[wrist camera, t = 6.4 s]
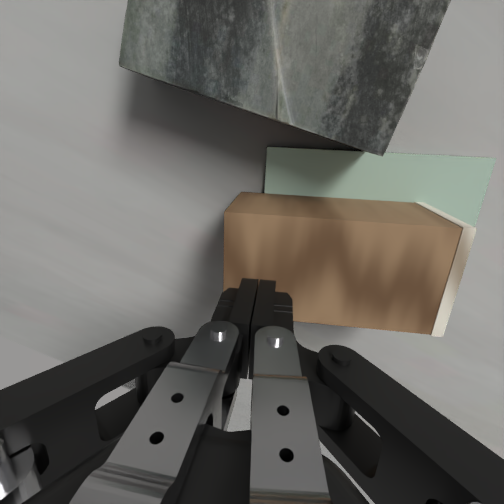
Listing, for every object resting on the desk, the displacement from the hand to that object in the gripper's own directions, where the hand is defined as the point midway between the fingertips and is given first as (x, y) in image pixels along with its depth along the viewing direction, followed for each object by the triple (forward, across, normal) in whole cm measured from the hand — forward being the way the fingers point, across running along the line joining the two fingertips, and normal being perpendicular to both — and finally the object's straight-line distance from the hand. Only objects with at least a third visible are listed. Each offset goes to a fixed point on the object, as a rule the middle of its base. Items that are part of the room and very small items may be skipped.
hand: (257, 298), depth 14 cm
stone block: (+10, 0, -12) cm, 16 cm away
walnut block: (+6, +2, 0) cm, 6 cm away
